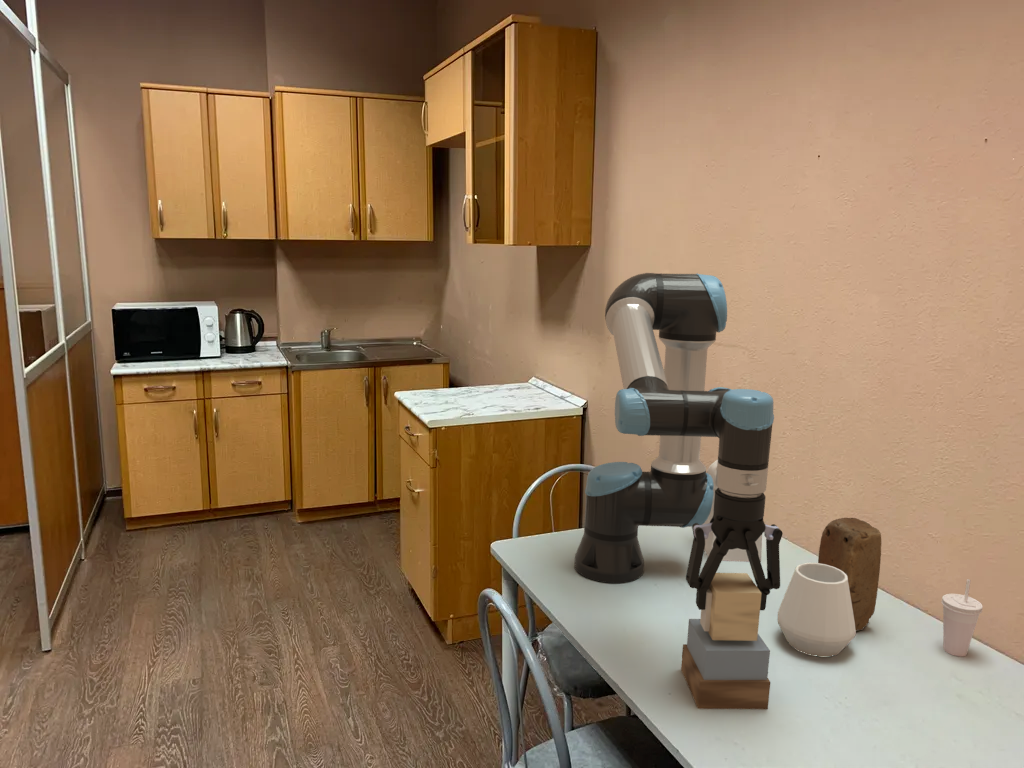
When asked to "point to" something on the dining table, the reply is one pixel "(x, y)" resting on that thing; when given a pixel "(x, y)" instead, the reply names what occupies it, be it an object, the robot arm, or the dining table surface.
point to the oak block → (734, 607)
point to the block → (854, 562)
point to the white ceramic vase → (817, 610)
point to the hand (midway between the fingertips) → (728, 627)
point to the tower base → (723, 689)
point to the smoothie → (959, 621)
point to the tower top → (727, 656)
